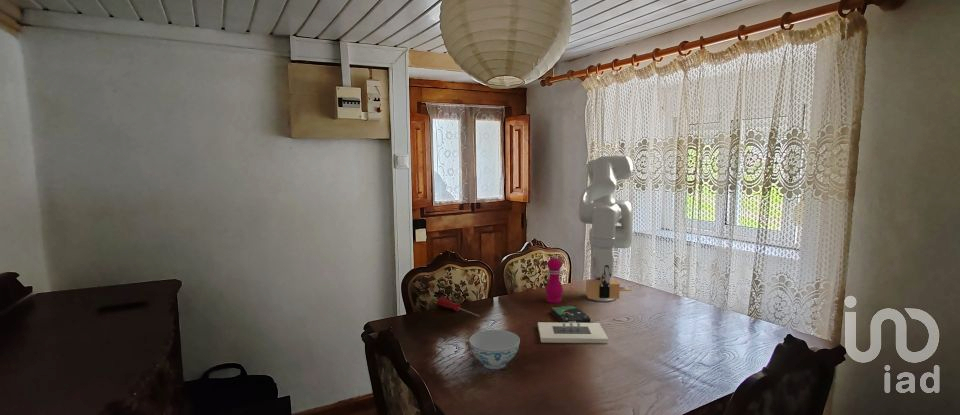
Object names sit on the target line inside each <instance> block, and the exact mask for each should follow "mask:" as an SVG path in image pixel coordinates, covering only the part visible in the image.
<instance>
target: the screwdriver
mask: <svg viewBox="0 0 960 415" xmlns="http://www.w3.org/2000/svg"><path fill="white" fill-rule="evenodd" d="M437 304H438V306H441V307H444V308H447V309H452V310H454V311H455V312H456V313H457V312H460V311H464V312H466V313H469V314H471V315H473V316H476V317H480V315H479V314H476V313H473V312H472V311H469V310H466V309H464V308H462V305H461V304H460V303H455V302H453V301H452V300H451V299H449V298H448V299H447V298H445V297H442V296H441V297H439V298H438V299H437Z"/></svg>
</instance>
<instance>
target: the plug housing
mask: <svg viewBox="0 0 960 415" xmlns="http://www.w3.org/2000/svg"><path fill="white" fill-rule="evenodd" d="M603 281H604V280H603ZM585 282H586V283H585V294H586V297H587V296H588V297H587V299H589V300H591V299H615V300H618V299H620V292H632V289H631V287H629V286H628V287H625V286H623V287H620V285H621V284H620V283H619V282H618V280H616V279H613V280H610V293H609V298H600V297H599V291H600V286H601V283H600V280H591V279H586V281H585Z"/></svg>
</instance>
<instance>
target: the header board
mask: <svg viewBox="0 0 960 415" xmlns="http://www.w3.org/2000/svg"><path fill="white" fill-rule="evenodd" d="M537 329H538V334H539V338H540V343H558V344H559V343H561V344H563V343H564V344H565V343H568V344H570V343H571V344H586V343H587V344H609V338H608V336H607V334H606V332H605V331H604V329H603V327H602V325H601V323H600V322H590V323H579V322H578V323H572V322H570V323H565V322H563V323H561V322H541V321H540V322H539V321H538V322H537Z"/></svg>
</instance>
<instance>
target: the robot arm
mask: <svg viewBox="0 0 960 415" xmlns="http://www.w3.org/2000/svg"><path fill="white" fill-rule="evenodd" d="M586 168H587V169H586V170H587V175H588V178H589V181H590V185H588V186H587V187H586V188H585V189H584V190H583V191H582V193H581V194H580V197H579V200H578V202H579V203H578V218H579V221H580V222H581V223H582V224H587V225H588V224H589V225H591V226H592V227H591V228H590V229H589V232H588V233H589V234H588V236H589V244H590V280H600V283H601V286H600V291H599V297H600V298H609V293H610V280H614V270H615V268H614V267H615V265H614V261H615V258H614V256H613V249H628V248H630V247H631V246H632V242H633V206H632V203H631V202H630V201H628V200H624V199H623V200H622V199H620V200H619V199H615V190H616V187H617V180H628V179H630V178H631V176H632V174H633V169H634V167H633V162H632V159H631V158H630V157H629V156H627V155H604V156H600V157H598V158H596V159H591V160H589V161H588V163H587V166H586ZM616 224H620V225H616ZM603 280H604V281H603ZM586 297H587V298H588V296H587V295H586ZM590 300H591V301H596V302H603V303H604V302H606V303H607V302H613V301H615V300H616V299H590Z"/></svg>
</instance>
